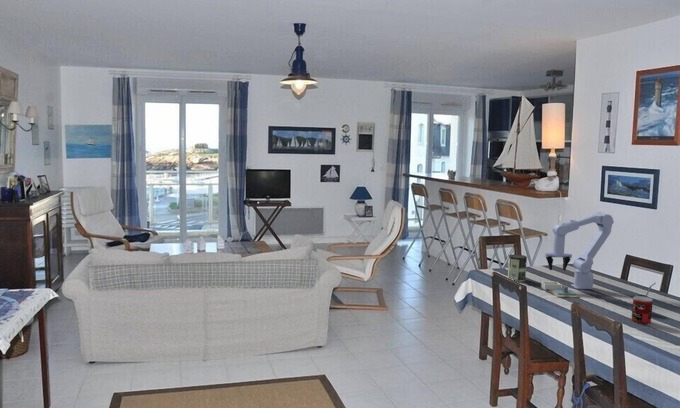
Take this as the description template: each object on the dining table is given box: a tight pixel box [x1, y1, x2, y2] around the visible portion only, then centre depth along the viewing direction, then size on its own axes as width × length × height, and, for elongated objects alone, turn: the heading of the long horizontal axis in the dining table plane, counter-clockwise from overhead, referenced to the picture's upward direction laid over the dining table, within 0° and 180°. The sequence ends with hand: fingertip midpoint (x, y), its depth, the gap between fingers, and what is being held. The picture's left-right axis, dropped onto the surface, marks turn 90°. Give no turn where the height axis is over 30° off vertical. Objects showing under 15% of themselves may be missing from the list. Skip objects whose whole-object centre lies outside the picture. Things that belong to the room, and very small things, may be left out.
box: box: [540, 280, 562, 291], centre depth 315 cm, size 9×6×3 cm, turn 89°
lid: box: [553, 284, 577, 295], centre depth 303 cm, size 10×7×4 cm
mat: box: [549, 290, 581, 299], centre depth 303 cm, size 12×12×1 cm
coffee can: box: [507, 254, 528, 283], centre depth 333 cm, size 10×10×14 cm
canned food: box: [631, 295, 654, 325], centre depth 260 cm, size 8×8×11 cm
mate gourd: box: [635, 282, 656, 298], centre depth 274 cm, size 8×8×15 cm
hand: (557, 270), depth 317 cm, fingers open, 7 cm apart
